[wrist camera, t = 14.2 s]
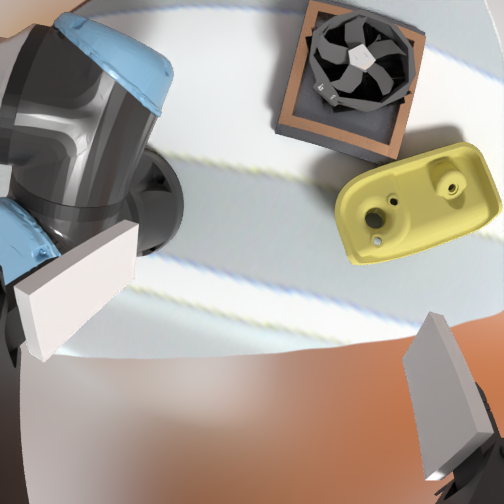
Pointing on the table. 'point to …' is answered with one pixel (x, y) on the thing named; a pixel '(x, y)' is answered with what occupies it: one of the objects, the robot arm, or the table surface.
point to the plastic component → (417, 203)
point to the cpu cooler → (360, 62)
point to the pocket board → (322, 118)
